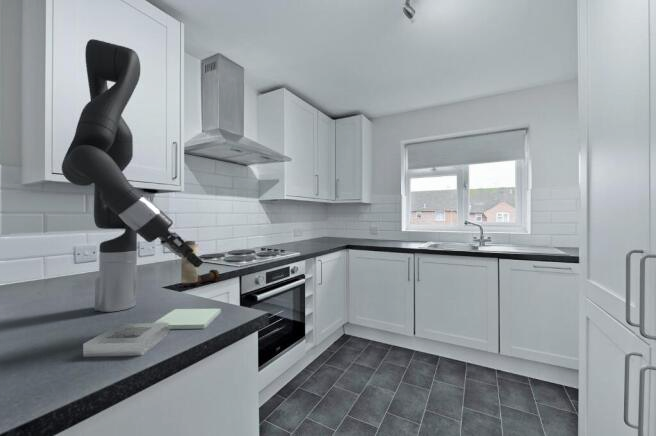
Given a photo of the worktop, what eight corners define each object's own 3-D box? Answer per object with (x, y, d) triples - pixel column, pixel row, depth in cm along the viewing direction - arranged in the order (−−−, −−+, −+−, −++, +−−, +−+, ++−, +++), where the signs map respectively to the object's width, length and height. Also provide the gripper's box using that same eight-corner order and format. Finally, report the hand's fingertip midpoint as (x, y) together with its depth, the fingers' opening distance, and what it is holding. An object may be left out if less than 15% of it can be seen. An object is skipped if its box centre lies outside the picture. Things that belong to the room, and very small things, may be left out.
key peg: (178, 283, 74) (179, 241, 75) (184, 280, 78) (185, 240, 79) (194, 283, 75) (194, 241, 75) (199, 280, 79) (200, 240, 79)
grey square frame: (83, 356, 55) (83, 343, 55) (120, 334, 66) (120, 323, 66) (141, 355, 56) (142, 342, 56) (169, 333, 67) (169, 323, 67)
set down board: (149, 329, 69) (150, 325, 69) (174, 312, 82) (175, 309, 82) (204, 328, 70) (204, 324, 70) (220, 312, 83) (220, 308, 83)
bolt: (185, 291, 115) (214, 283, 129) (192, 286, 113) (221, 278, 127) (180, 278, 116) (209, 271, 130) (187, 273, 114) (216, 267, 128)
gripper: (165, 207, 67) (216, 255, 74) (153, 210, 78) (199, 252, 85) (137, 230, 63) (194, 278, 71) (129, 229, 74) (180, 271, 81)
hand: (197, 263), depth 78 cm, fingers closed on key peg, 4 cm apart
